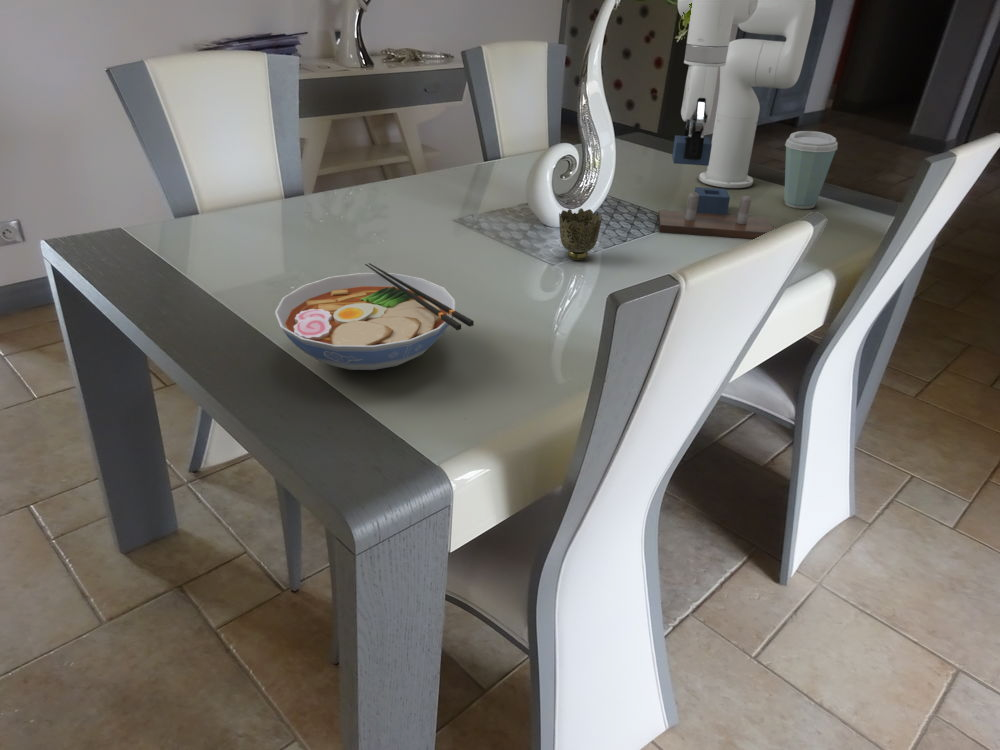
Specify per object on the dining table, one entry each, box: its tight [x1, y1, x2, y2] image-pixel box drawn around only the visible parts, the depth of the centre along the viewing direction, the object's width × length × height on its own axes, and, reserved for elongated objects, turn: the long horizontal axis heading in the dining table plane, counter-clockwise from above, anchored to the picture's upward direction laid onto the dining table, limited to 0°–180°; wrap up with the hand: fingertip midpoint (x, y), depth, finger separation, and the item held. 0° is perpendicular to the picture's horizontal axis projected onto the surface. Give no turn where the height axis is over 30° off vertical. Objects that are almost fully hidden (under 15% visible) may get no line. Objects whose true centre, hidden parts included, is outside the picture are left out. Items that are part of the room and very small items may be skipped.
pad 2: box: [694, 186, 731, 215], centre depth 158 cm, size 7×7×4 cm
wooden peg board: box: [657, 191, 775, 240], centre depth 147 cm, size 10×22×7 cm, turn 81°
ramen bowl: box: [274, 262, 475, 371], centre depth 97 cm, size 25×23×8 cm
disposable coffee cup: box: [783, 130, 839, 210], centre depth 161 cm, size 11×11×15 cm
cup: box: [558, 207, 603, 262], centre depth 130 cm, size 8×7×8 cm
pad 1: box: [671, 134, 712, 167], centre depth 145 cm, size 7×7×4 cm
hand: (691, 153), depth 145 cm, fingers closed on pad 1, 6 cm apart
